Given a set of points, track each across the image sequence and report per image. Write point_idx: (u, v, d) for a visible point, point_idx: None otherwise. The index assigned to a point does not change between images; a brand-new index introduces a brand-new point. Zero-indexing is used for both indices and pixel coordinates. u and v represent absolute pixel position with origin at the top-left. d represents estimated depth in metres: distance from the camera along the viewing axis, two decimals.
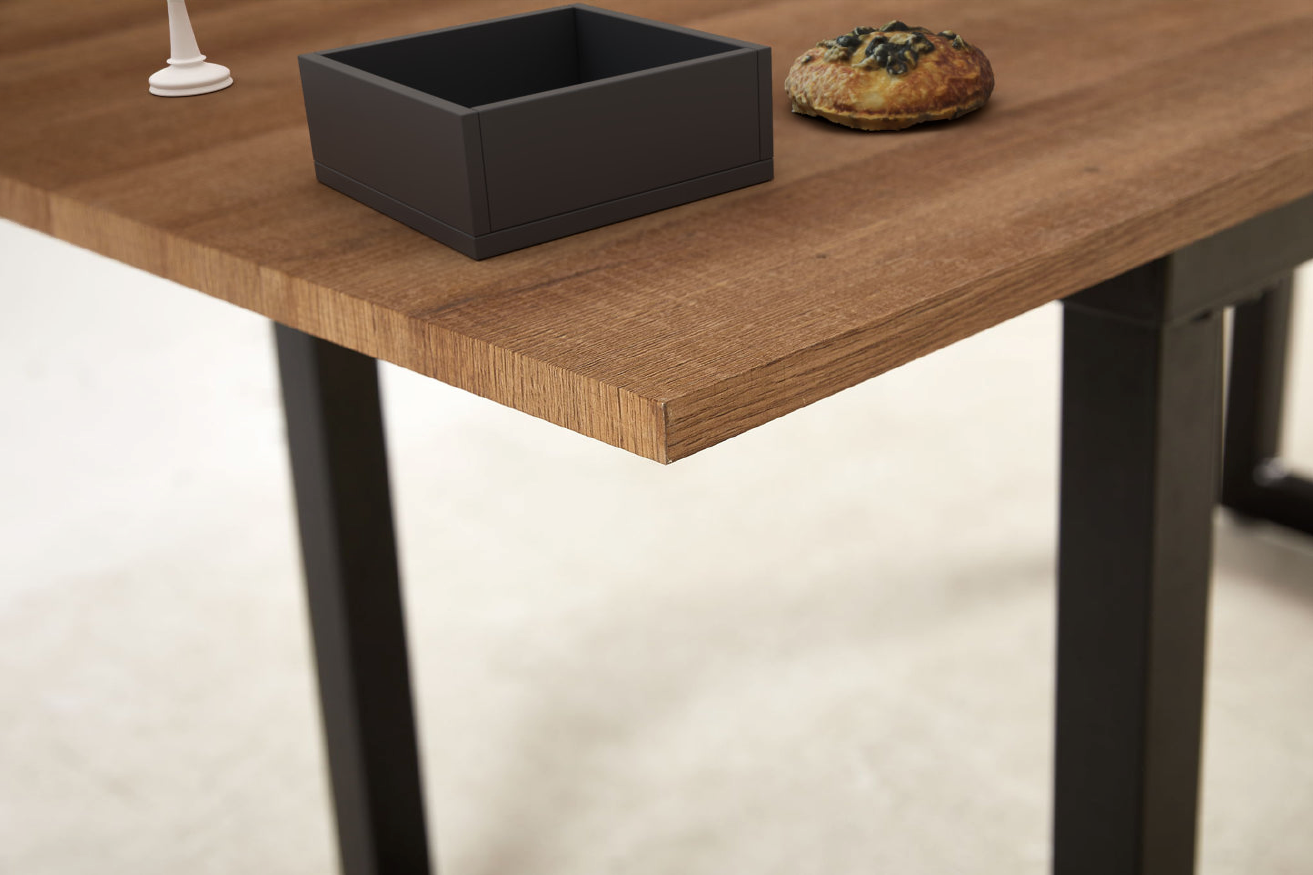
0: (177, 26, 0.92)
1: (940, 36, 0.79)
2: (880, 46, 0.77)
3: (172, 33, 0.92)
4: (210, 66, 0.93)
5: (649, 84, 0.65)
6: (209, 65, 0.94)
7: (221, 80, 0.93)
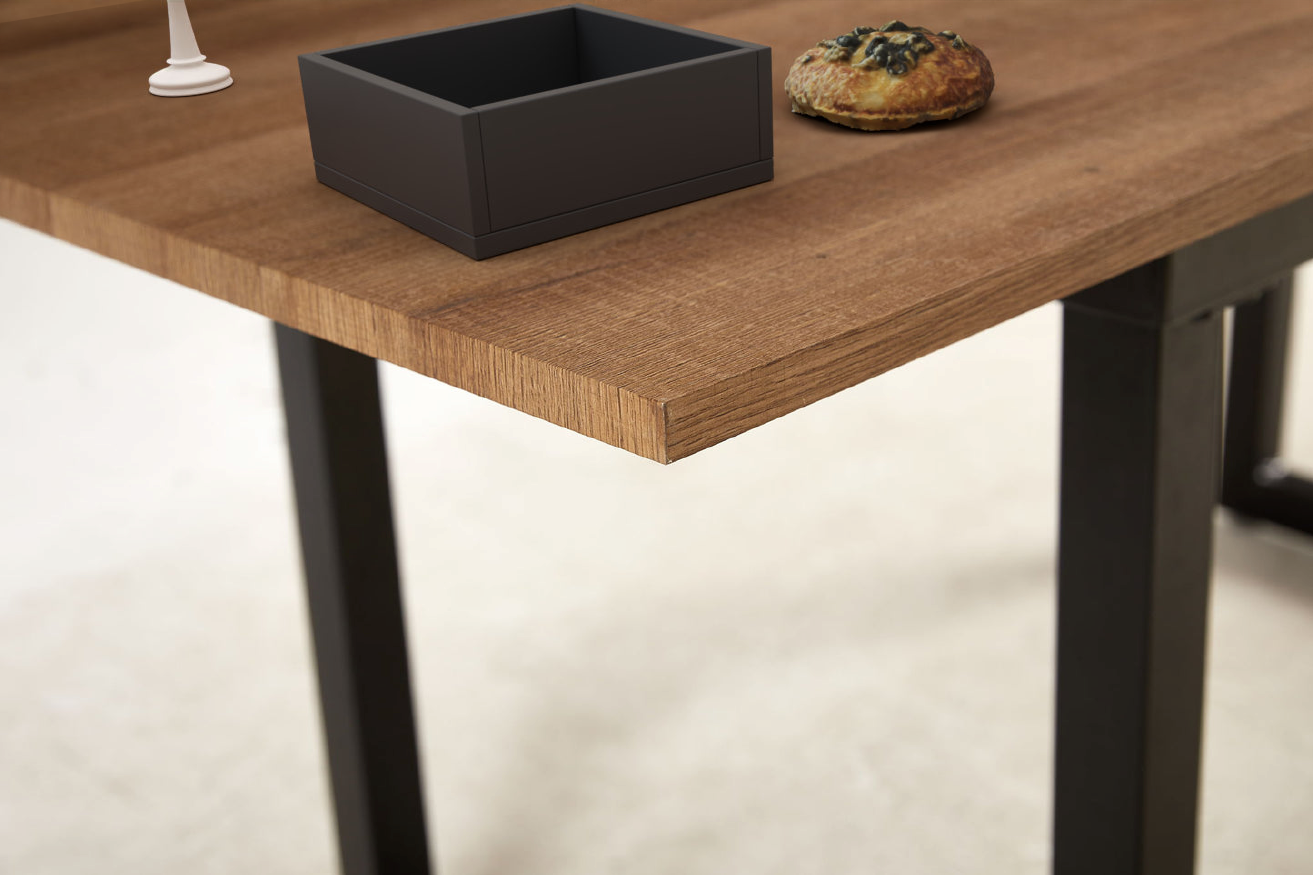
0: (177, 26, 0.92)
1: (940, 36, 0.79)
2: (880, 46, 0.77)
3: (172, 33, 0.92)
4: (210, 66, 0.93)
5: (649, 84, 0.65)
6: (209, 65, 0.94)
7: (221, 80, 0.93)
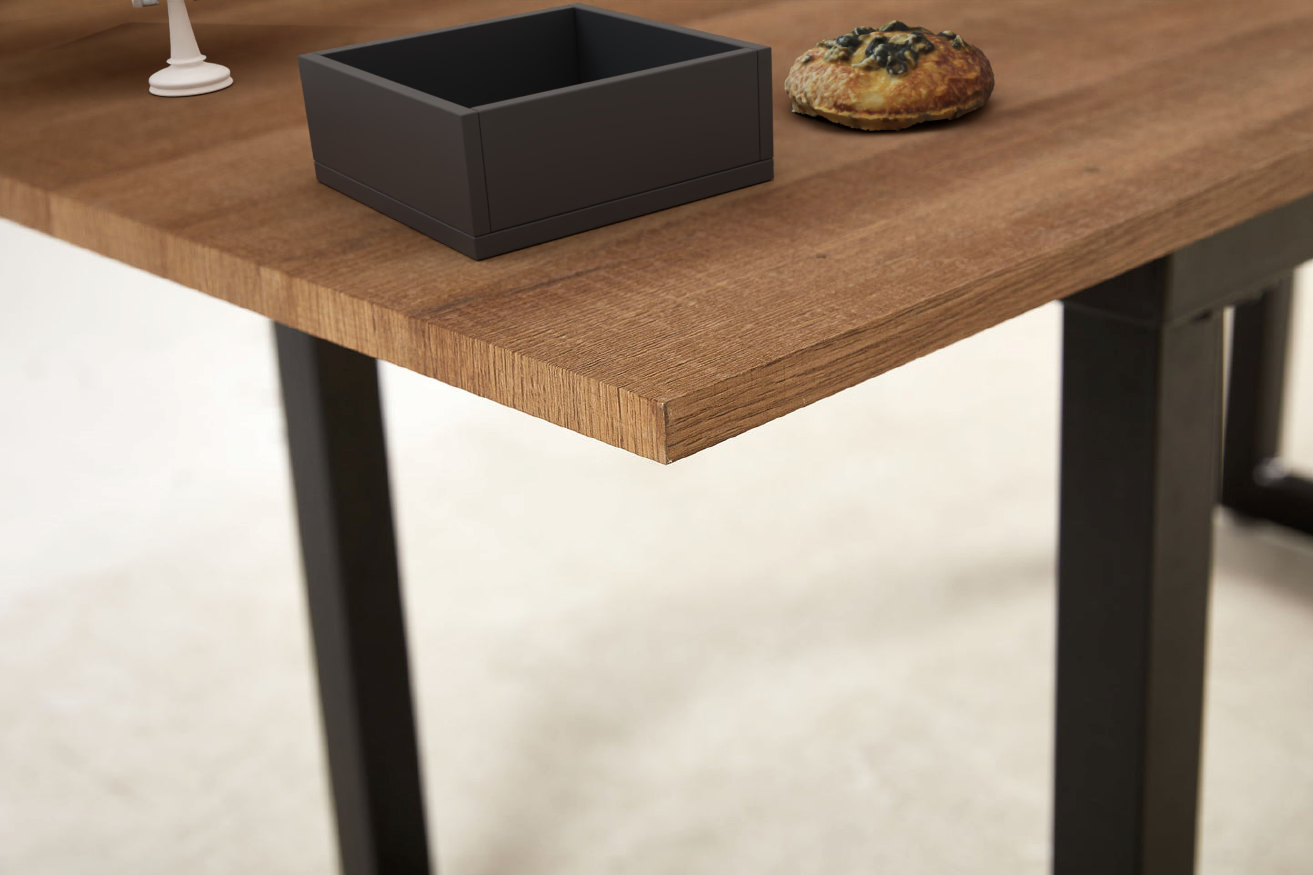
0: (176, 26, 0.92)
1: (940, 36, 0.79)
2: (880, 46, 0.77)
3: (171, 33, 0.92)
4: (210, 66, 0.93)
5: (649, 84, 0.65)
6: (209, 65, 0.94)
7: (221, 80, 0.93)
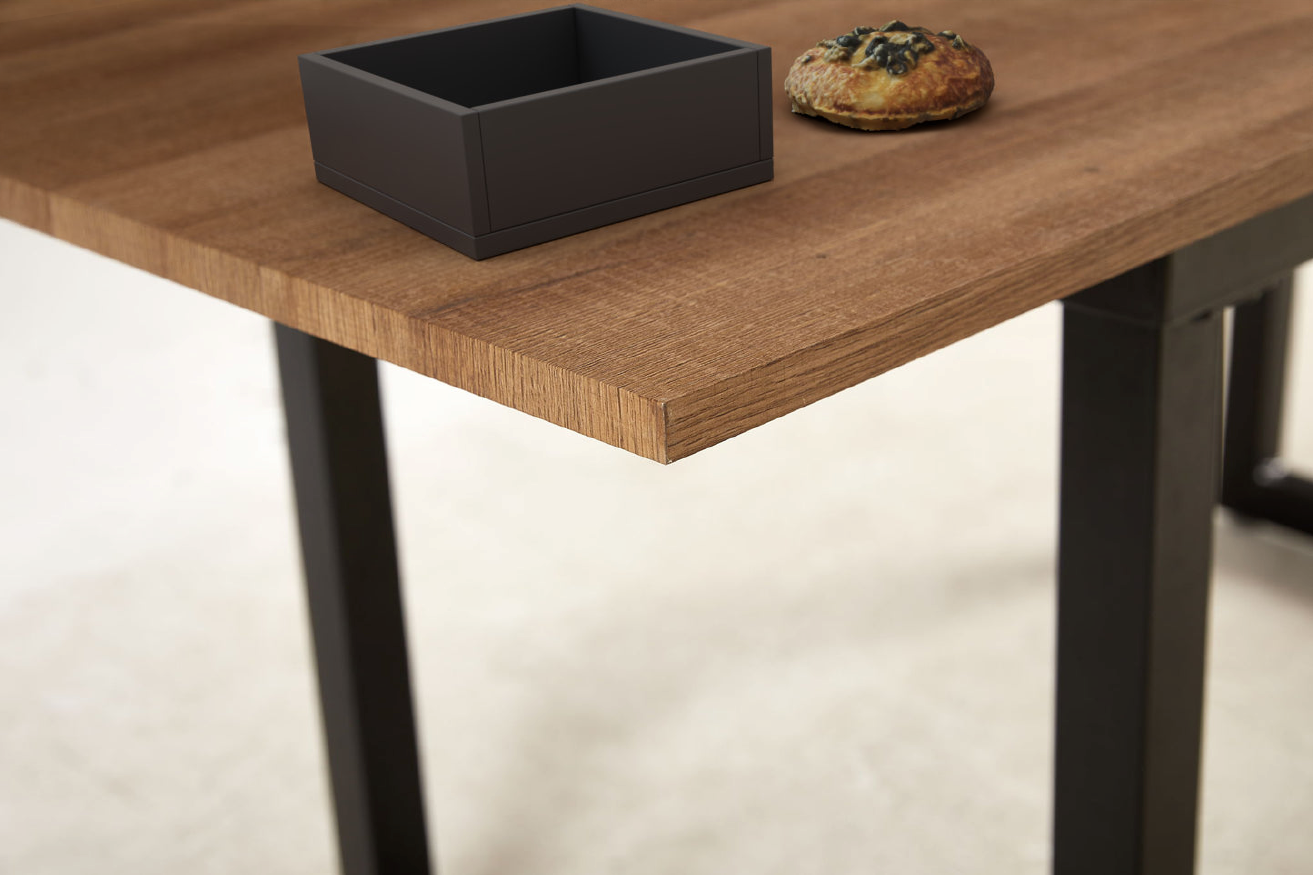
0: None
1: (940, 36, 0.79)
2: (880, 46, 0.77)
3: None
4: None
5: (649, 84, 0.65)
6: None
7: None
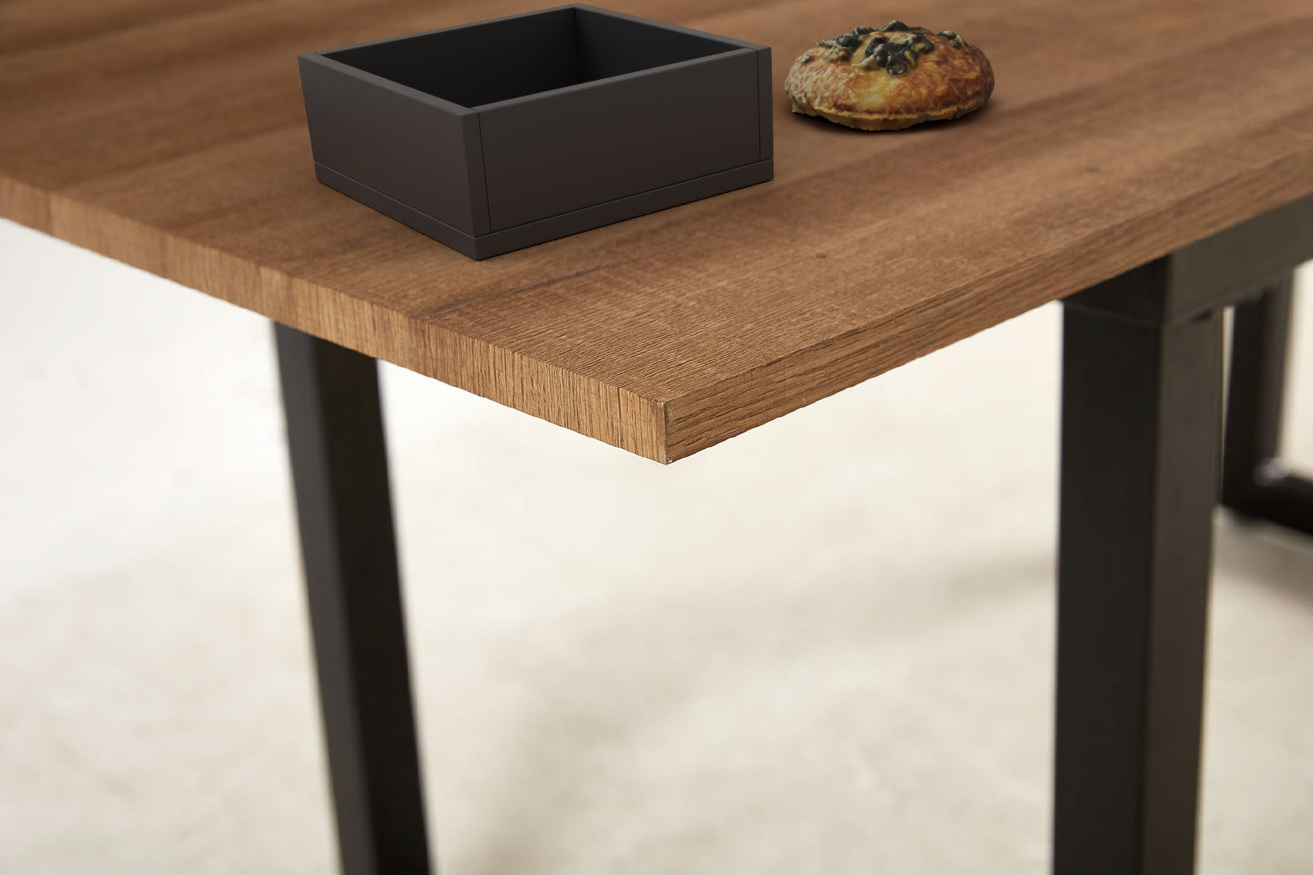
0: None
1: (940, 36, 0.79)
2: (880, 46, 0.77)
3: None
4: None
5: (649, 84, 0.65)
6: None
7: None
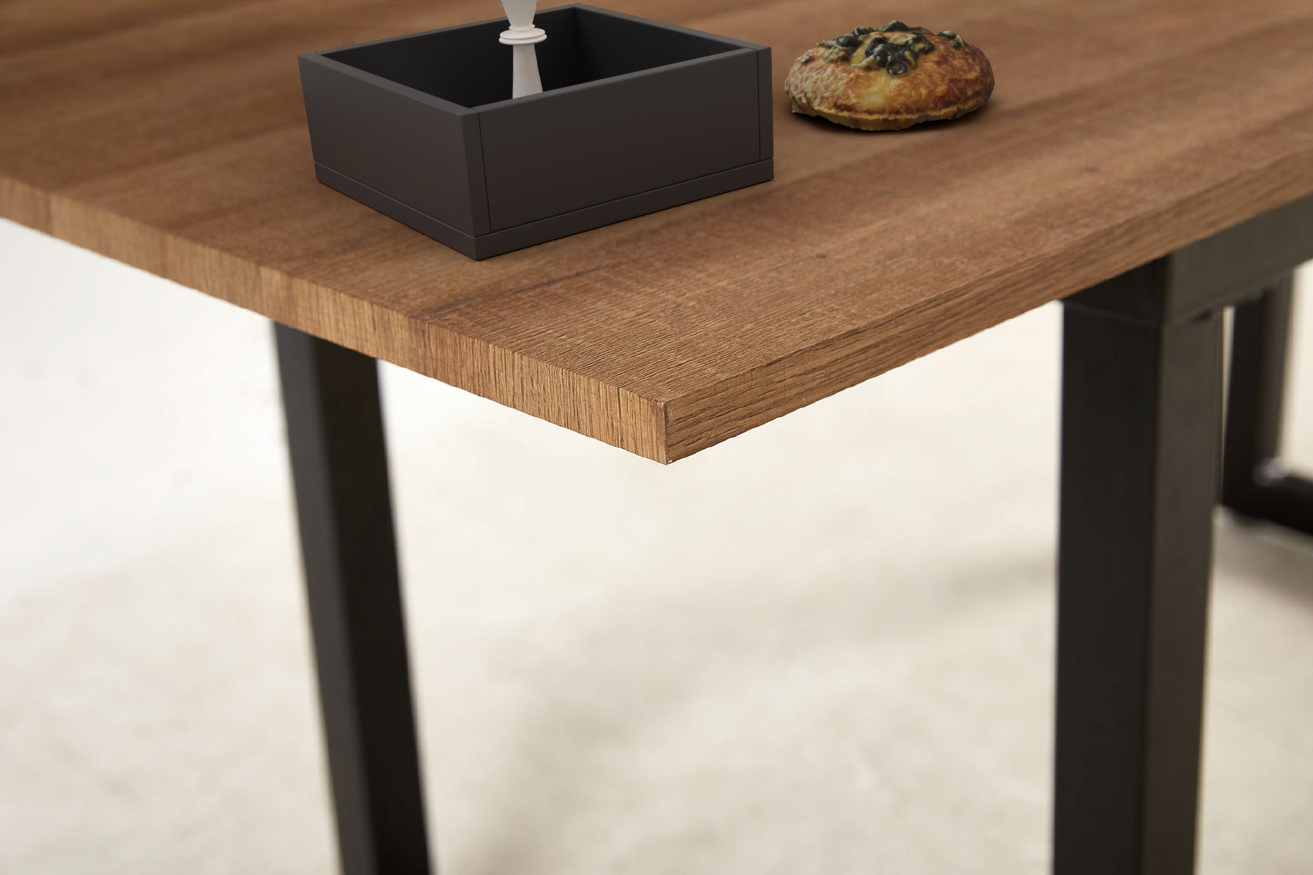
0: (525, 82, 0.70)
1: (940, 36, 0.79)
2: (880, 46, 0.77)
3: (517, 91, 0.70)
4: None
5: (649, 84, 0.65)
6: None
7: None
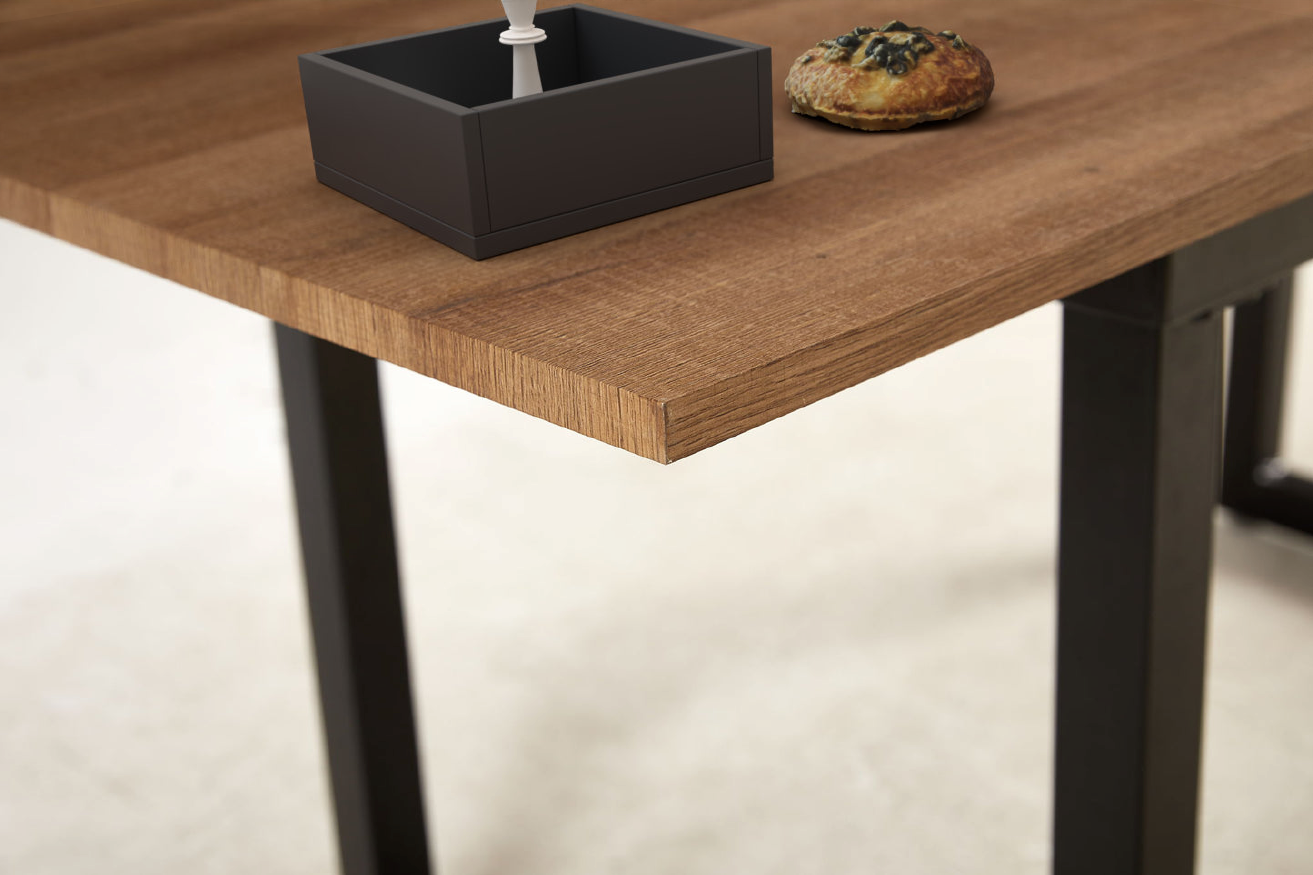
0: (525, 82, 0.70)
1: (940, 36, 0.79)
2: (880, 46, 0.77)
3: (517, 92, 0.70)
4: None
5: (649, 84, 0.65)
6: None
7: None
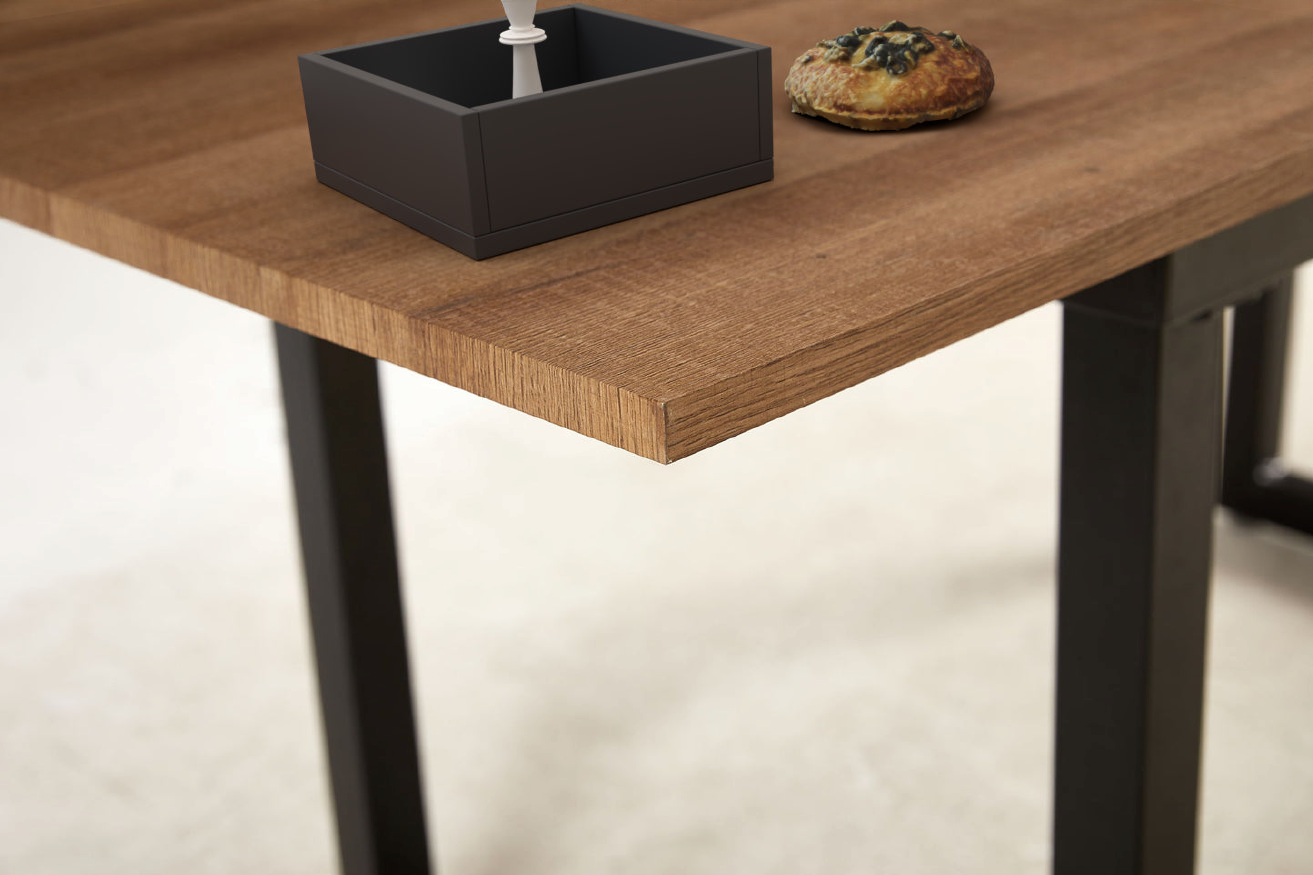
0: (525, 82, 0.70)
1: (940, 36, 0.79)
2: (880, 46, 0.77)
3: (517, 92, 0.70)
4: None
5: (649, 84, 0.65)
6: None
7: None
